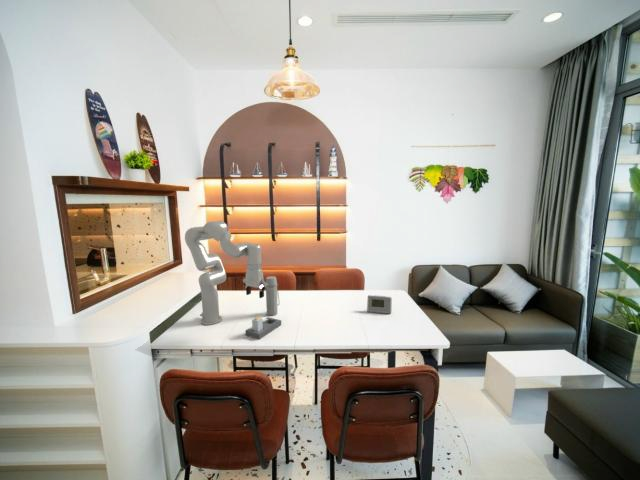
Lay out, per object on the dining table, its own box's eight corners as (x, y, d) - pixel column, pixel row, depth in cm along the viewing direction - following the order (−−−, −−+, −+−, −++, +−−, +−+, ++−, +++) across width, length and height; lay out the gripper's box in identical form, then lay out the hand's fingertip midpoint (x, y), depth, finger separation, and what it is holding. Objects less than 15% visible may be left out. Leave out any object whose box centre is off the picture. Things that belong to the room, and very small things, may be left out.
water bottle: (269, 317, 178) (268, 279, 174) (264, 313, 184) (263, 277, 181) (282, 313, 183) (281, 277, 180) (276, 310, 189) (275, 274, 186)
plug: (252, 334, 154) (252, 318, 153) (257, 331, 157) (256, 315, 156) (258, 336, 152) (257, 319, 151) (262, 333, 156) (262, 316, 154)
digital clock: (365, 312, 185) (366, 296, 183) (369, 307, 193) (369, 292, 191) (390, 316, 178) (390, 300, 176) (392, 311, 186) (393, 296, 184)
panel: (245, 335, 153) (245, 330, 153) (268, 321, 171) (267, 316, 170) (259, 339, 148) (259, 333, 148) (281, 324, 166) (281, 319, 166)
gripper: (238, 265, 154) (239, 295, 156) (262, 269, 145) (262, 300, 148) (247, 263, 160) (248, 291, 163) (271, 267, 152) (271, 296, 154)
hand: (255, 295), depth 155 cm, fingers open, 9 cm apart
